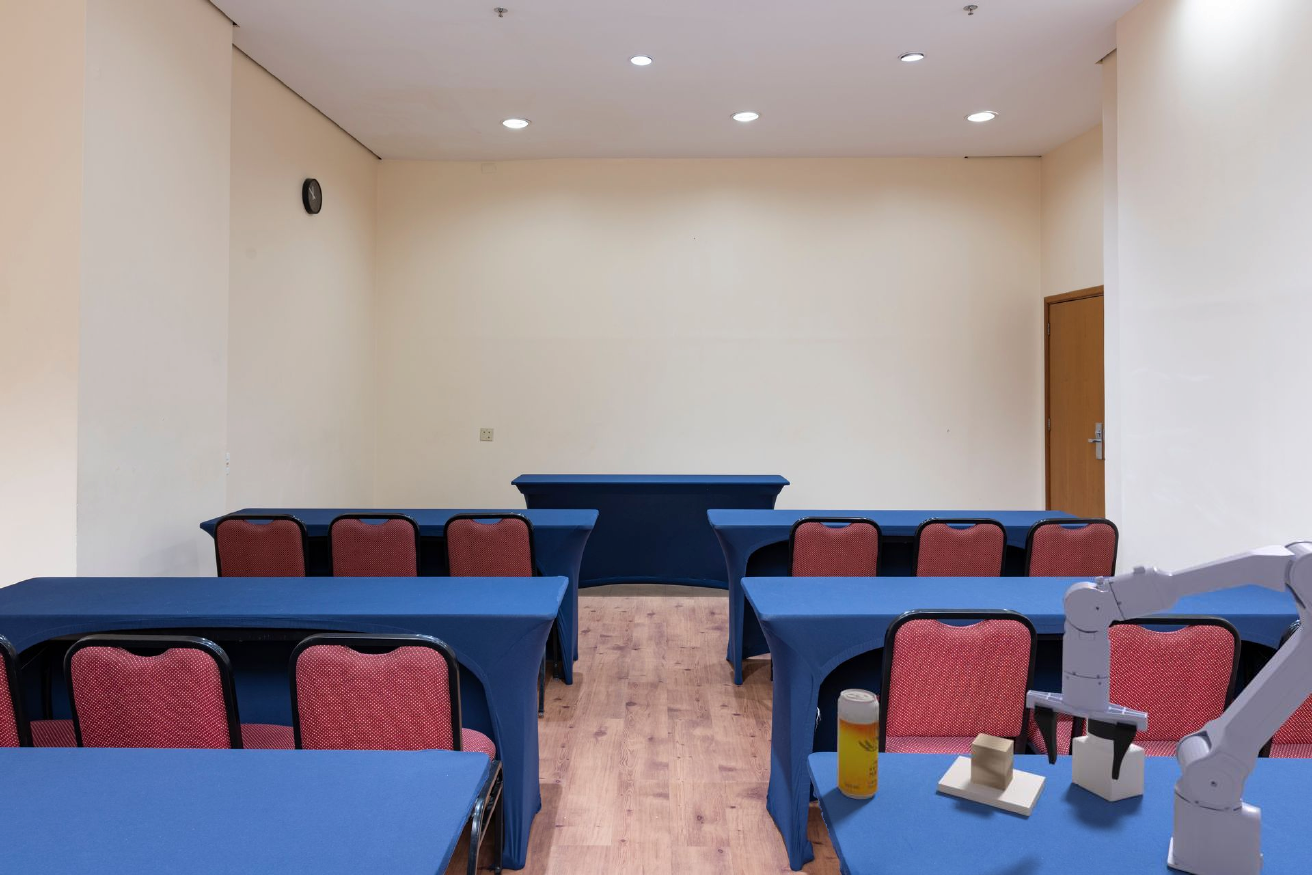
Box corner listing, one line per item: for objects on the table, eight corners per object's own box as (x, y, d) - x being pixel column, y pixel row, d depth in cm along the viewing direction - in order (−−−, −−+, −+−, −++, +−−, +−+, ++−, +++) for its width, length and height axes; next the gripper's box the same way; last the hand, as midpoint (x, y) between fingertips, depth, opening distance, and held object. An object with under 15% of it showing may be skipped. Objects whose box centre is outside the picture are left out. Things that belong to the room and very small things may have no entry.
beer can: (879, 802, 119) (880, 703, 119) (837, 798, 121) (838, 700, 120) (876, 783, 125) (877, 689, 125) (836, 780, 126) (837, 686, 126)
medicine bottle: (1144, 794, 122) (1146, 717, 122) (1111, 802, 120) (1113, 723, 119) (1103, 774, 129) (1105, 701, 128) (1070, 781, 126) (1072, 707, 126)
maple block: (1012, 778, 125) (1013, 740, 124) (1005, 790, 121) (1005, 751, 120) (979, 769, 128) (980, 732, 127) (970, 781, 124) (971, 743, 123)
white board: (1045, 784, 125) (1045, 776, 125) (1029, 816, 115) (1029, 807, 115) (959, 762, 133) (959, 755, 133) (937, 790, 123) (937, 782, 123)
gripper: (1022, 668, 110) (1020, 765, 111) (1145, 690, 102) (1142, 795, 102) (1032, 655, 116) (1030, 747, 117) (1149, 675, 107) (1147, 775, 108)
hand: (1083, 769), depth 110 cm, fingers open, 7 cm apart
